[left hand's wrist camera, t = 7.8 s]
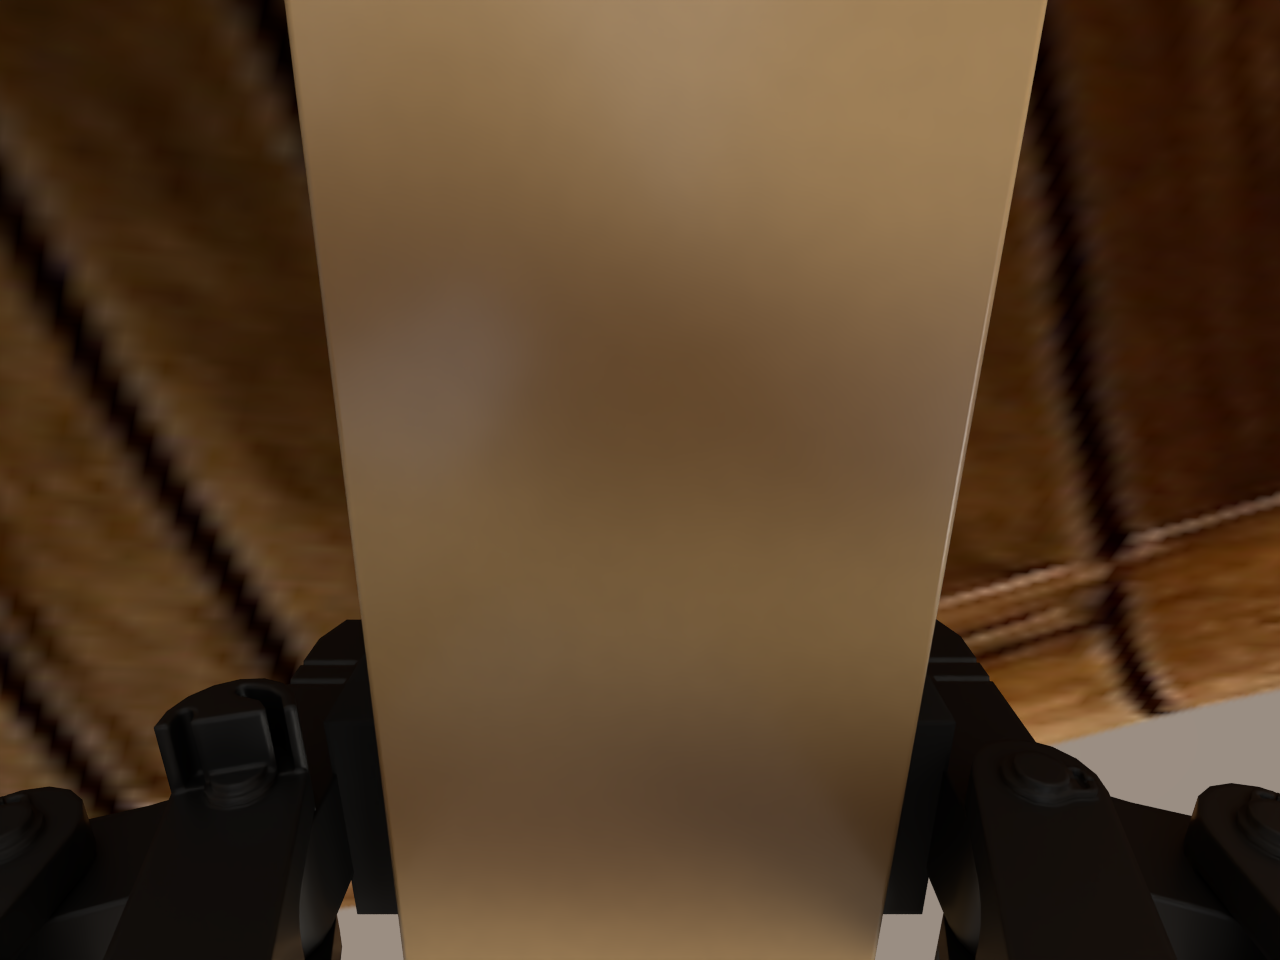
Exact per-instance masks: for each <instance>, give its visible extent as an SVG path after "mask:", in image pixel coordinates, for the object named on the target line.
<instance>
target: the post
mask: <svg viewBox="0 0 1280 960" xmlns="http://www.w3.org/2000/svg"><path fill="white" fill-rule="evenodd" d="M1046 5H1047V0H285V8H286V16H287V24H288V32H289V40H290V48H291V56H292V64H293V73H294V81H295V89H296V97H297V105H298V113H299V121H300V129H301V137H302V145H303V153H304V161H305V169H306V177H307V185H308V193H309V201H310V209H311V217H312V225H313V233H314V241H315V249H316V258H317V266H318V274H319V282H320V290H321V298H322V306H323V314H324V322H325V330H326V338H327V346H328V354H329V362H330V370H331V378H332V386H333V394H334V402H335V410H336V418H337V426H338V435H339V443H340V451H341V459H342V467H343V475H344V483H345V491H346V499H347V507H348V515H349V523H350V531H351V539H352V547H353V555H354V563H355V571H356V579H357V587H358V595H359V603H360V611H361V620H362V628H363V636H364V644H365V652H366V660H367V668H368V676H369V684H370V692H371V700H372V708H373V716H374V724H375V732H376V740H377V748H378V756H379V764H380V772H381V780H382V788H383V797H384V805H385V813H386V821H387V829H388V837H389V845H390V853H391V861H392V869H393V877H394V885H395V893H396V901H397V909H398V917H399V925H400V933H401V941H402V949H403V957H404V960H875V955H876V949H877V944H878V938H879V933H880V927H881V922H882V916H883V911H884V905H885V899H886V894H887V888H888V883H889V877H890V872H891V866H892V861H893V855H894V849H895V844H896V838H897V833H898V827H899V822H900V816H901V811H902V805H903V799H904V794H905V788H906V783H907V777H908V772H909V766H910V761H911V755H912V749H913V744H914V738H915V733H916V727H917V722H918V716H919V711H920V705H921V700H922V694H923V688H924V683H925V677H926V672H927V666H928V661H929V655H930V650H931V644H932V638H933V633H934V627H935V622H936V616H937V611H938V605H939V600H940V594H941V588H942V583H943V577H944V572H945V566H946V561H947V555H948V550H949V544H950V538H951V533H952V527H953V522H954V516H955V511H956V505H957V500H958V494H959V488H960V483H961V477H962V472H963V466H964V461H965V455H966V450H967V444H968V438H969V433H970V427H971V422H972V416H973V411H974V405H975V400H976V394H977V388H978V383H979V377H980V372H981V366H982V361H983V355H984V350H985V344H986V338H987V333H988V327H989V322H990V316H991V311H992V305H993V300H994V294H995V288H996V283H997V277H998V272H999V266H1000V261H1001V255H1002V250H1003V244H1004V238H1005V233H1006V227H1007V222H1008V216H1009V211H1010V205H1011V200H1012V194H1013V188H1014V183H1015V177H1016V172H1017V166H1018V161H1019V155H1020V150H1021V144H1022V138H1023V133H1024V127H1025V122H1026V116H1027V111H1028V105H1029V100H1030V94H1031V89H1032V83H1033V77H1034V72H1035V66H1036V61H1037V55H1038V50H1039V44H1040V39H1041V33H1042V27H1043V22H1044V16H1045V11H1046Z"/></svg>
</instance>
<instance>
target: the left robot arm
mask: <svg viewBox="0 0 1280 960" xmlns="http://www.w3.org/2000/svg"><path fill="white" fill-rule="evenodd" d="M154 731H155V734H156V738H157V742H158V745H159V749H160V752H161V756H162V760H163V763H164V767H165V771H166V774H167V778H168V782H169V785H170V789H171V796H170V798H169V800H167V801H164V802H160V803H157V804H153V805H150V806H146V807H141V808H137V809H132V810H128V811H123V812H119V813H115V814H110V815H106V816H101V817H97V818H92V819H88V816H87V813H86V810H85V807H84V804H83V801H82V799H81V798H80V797H78V796H77V795H76V794H75V793H74V792H72V791H71V790H68V789H62V788H55V787H43V788H36V789H28V790H21V791H18V792H15V793H12V794H8V795H6V796H2V797H0V960H341V951H342V943H341V936H340V929H339V924H338V919H337V913H338V910H339V908H340V906H341V903H342V901H343V898H344V896H345V894H346V891H347V889H348V886H349V884H350V882H351V881H352V886H353V892H354V898H355V903H356V909H357V914H398V909H397V901H396V893H395V885H394V877H393V869H392V861H391V853H390V845H389V837H388V829H387V821H386V813H385V805H384V797H383V788H382V780H381V772H380V764H379V756H378V748H377V740H376V732H375V724H374V716H373V708H372V700H371V692H370V684H369V676H368V668H367V660H366V652H365V644H364V636H363V628H362V620H346V621H344V622H343V623H341V624H340V625H338V626H337V627H336V628H334V629H333V630H331V631H330V632H328V633H327V634H326V635H324V636H323V637H321V638H320V639H319V640H318V642H317V643H316V644H315V646H314V647H313V649H312V650H311V651H310V653H309V654H308V656H307V657H306V658H305V660H304V665H301V666H300V667H299V668H298V670H297V671H296V673H295V674H294V675H293V677H292V678H291V683H290V684H287V685H285V684H284V683H281V682H277V681H273V680H269V679H265V678H263V679H239V680H235V681H231V682H227V683H222V684H218V685H214V686H211V687H209V688H207V689H204V690H202V691H200V692H198V693H195V694H193V695H191V696H188V697H187V698H185V699H184V700H182V701H181V702H180V703H178V704H177V705H175V706H174V707H172V708H171V709H169V710H168V711H167V712H166V713H165V714H164V716H163V717H162V718H161V719H160V721H159V722H158V723H157V724H156V725H155V727H154ZM928 878H929V879H930V881H931V884H932V886H933V888H934V891H935V893H936V896H937V898H938V900H939V903H940V905H941V908H942V910H943V912H944V913H943V918H942V924H941V929H940V934H939V939H938V945H937V950H936V955H935V960H1280V793H1276V792H1273V791H1270V790H1267V789H1264V788H1261V787H1255V786H1248V785H1241V784H1233V783H1229V784H1223V785H1216V786H1210V787H1209V788H1207V789H1206V790H1205V791H1204V792H1203V793H1202V794H1200V795H1199V796H1198V799H1197V802H1196V805H1195V808H1194V811H1193V814H1192V816H1189V815H1185V814H1180V813H1176V812H1171V811H1167V810H1162V809H1158V808H1153V807H1149V806H1144V805H1140V804H1135V803H1131V802H1128V801H1124V800H1121V799H1117V798H1114V797H1110V795H1109V792H1108V791H1107V789H1106V788H1105V786H1104V785H1103V783H1102V782H1101V781H1100V779H1099V778H1098V776H1097V775H1096V774H1095V773H1094V772H1093V771H1091V770H1090V769H1089V768H1087V767H1086V766H1085V765H1084V764H1082V763H1081V762H1080V761H1079V760H1077V759H1076V758H1074V757H1072V756H1070V755H1068V754H1066V753H1064V752H1062V751H1060V750H1058V749H1056V748H1054V747H1051V746H1048V745H1044V744H1040V743H1036V742H1035V740H1034V739H1033V737H1032V736H1031V735H1030V733H1029V732H1028V730H1027V729H1026V728H1025V726H1024V725H1023V723H1022V722H1021V721H1020V719H1019V718H1018V716H1017V715H1016V714H1015V712H1014V711H1013V709H1012V708H1011V707H1010V705H1009V704H1008V702H1007V701H1006V700H1005V698H1004V697H1003V695H1002V694H1001V692H1000V691H999V690H998V688H997V687H996V685H995V684H994V683H993V681H990V680H989V676H988V674H987V673H986V671H985V670H984V669H983V667H982V666H981V664H980V663H977V662H976V657H975V656H974V654H973V653H972V652H971V650H970V649H969V647H968V646H967V645H966V643H965V642H964V640H963V639H962V638H961V636H959V635H958V634H957V633H955V632H954V631H952V630H951V629H949V628H948V627H946V626H945V625H944V624H942V623H941V622H939V621H938V620H936V622H935V627H934V633H933V638H932V644H931V650H930V655H929V661H928V666H927V672H926V677H925V683H924V688H923V694H922V700H921V705H920V711H919V716H918V722H917V727H916V733H915V738H914V744H913V749H912V755H911V761H910V766H909V772H908V777H907V783H906V788H905V794H904V799H903V805H902V811H901V816H900V822H899V827H898V833H897V838H896V844H895V849H894V855H893V861H892V866H891V872H890V877H889V883H888V888H887V894H886V899H885V905H884V911H883V914H922V912H923V906H924V900H925V895H926V889H927V883H928Z"/></svg>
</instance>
